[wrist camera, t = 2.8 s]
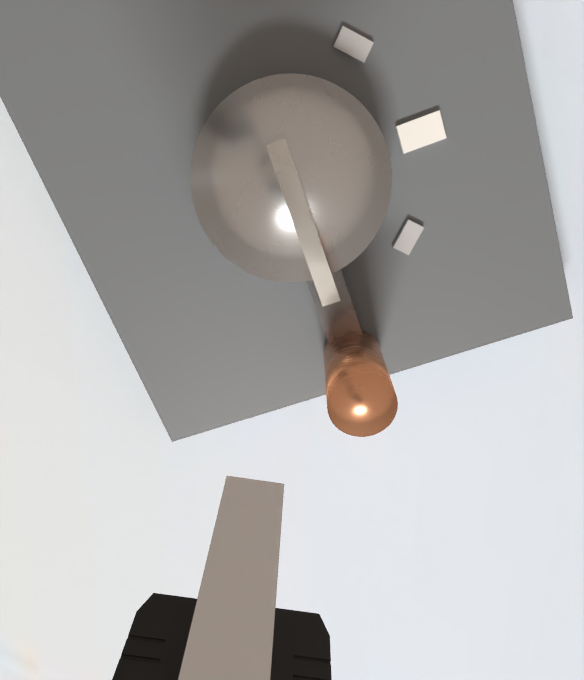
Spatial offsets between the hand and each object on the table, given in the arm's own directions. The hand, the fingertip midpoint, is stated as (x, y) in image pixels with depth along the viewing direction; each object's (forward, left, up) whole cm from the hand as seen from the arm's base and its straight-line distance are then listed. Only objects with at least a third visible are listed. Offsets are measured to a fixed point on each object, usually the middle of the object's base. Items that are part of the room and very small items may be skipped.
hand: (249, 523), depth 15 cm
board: (-7, +3, -12) cm, 14 cm away
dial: (-4, +3, -10) cm, 11 cm away
